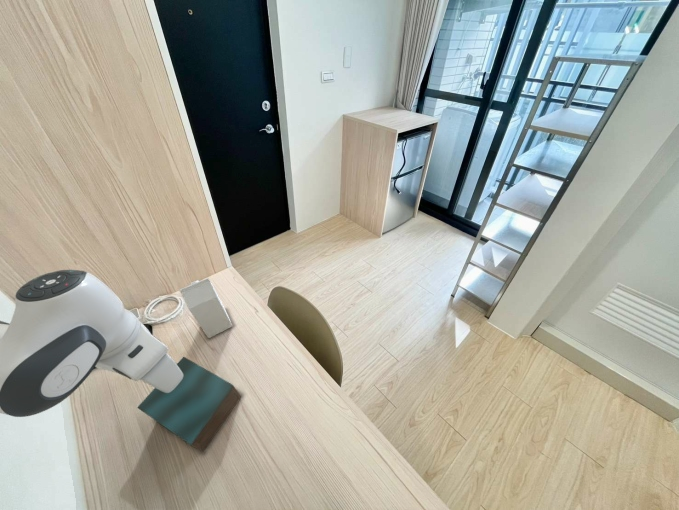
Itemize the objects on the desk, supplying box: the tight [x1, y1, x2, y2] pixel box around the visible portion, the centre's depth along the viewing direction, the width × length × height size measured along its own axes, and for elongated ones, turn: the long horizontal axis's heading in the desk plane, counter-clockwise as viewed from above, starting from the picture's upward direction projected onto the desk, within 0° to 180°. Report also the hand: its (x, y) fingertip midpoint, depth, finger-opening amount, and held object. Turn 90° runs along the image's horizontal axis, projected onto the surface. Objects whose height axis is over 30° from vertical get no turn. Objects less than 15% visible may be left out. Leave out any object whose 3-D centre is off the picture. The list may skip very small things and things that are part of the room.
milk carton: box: [178, 277, 233, 339], centre depth 75 cm, size 7×7×19 cm
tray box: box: [191, 385, 242, 453], centre depth 63 cm, size 15×13×7 cm
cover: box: [137, 356, 234, 446], centre depth 60 cm, size 15×13×1 cm
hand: (153, 374), depth 57 cm, fingers closed
